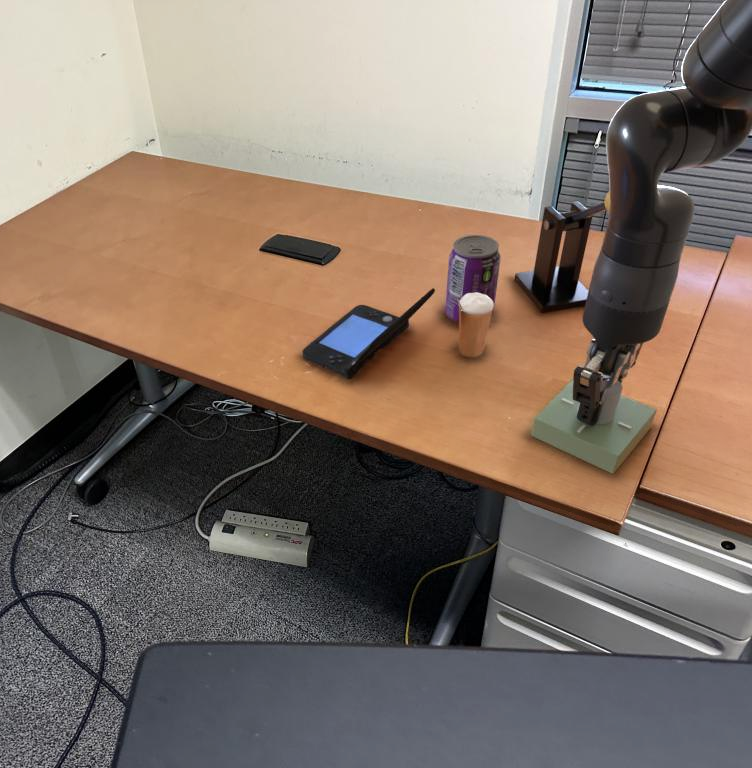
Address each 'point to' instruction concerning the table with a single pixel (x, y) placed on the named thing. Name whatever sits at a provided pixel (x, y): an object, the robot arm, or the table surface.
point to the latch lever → (584, 214)
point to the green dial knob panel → (593, 430)
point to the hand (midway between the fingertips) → (596, 410)
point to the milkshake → (474, 323)
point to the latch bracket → (548, 281)
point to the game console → (358, 338)
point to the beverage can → (471, 271)
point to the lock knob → (609, 403)
